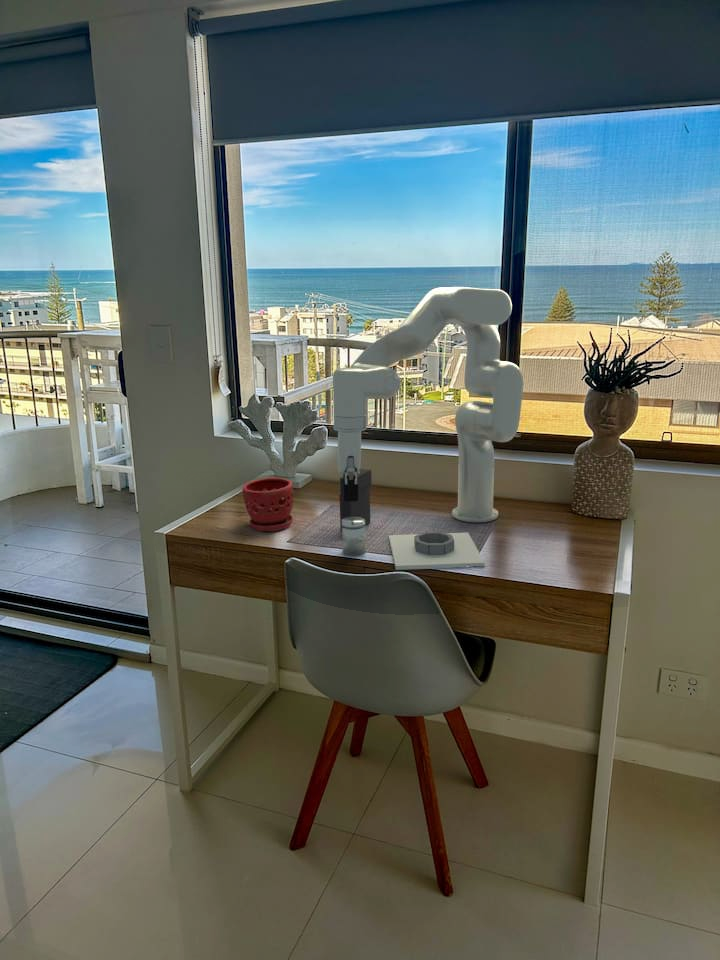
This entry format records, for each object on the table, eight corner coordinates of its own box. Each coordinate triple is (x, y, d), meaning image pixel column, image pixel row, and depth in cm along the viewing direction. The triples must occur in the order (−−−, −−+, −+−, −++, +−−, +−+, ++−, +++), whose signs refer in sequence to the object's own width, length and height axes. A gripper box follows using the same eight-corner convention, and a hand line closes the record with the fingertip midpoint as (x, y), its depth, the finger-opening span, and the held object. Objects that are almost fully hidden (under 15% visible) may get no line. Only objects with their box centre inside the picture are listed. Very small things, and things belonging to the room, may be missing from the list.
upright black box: (358, 521, 186) (357, 467, 182) (372, 523, 184) (371, 469, 180) (338, 533, 177) (336, 477, 173) (353, 536, 175) (351, 479, 171)
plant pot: (264, 516, 192) (262, 475, 189) (304, 522, 186) (302, 480, 183) (235, 530, 181) (232, 487, 178) (276, 537, 175) (273, 492, 172)
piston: (342, 548, 167) (341, 517, 164) (365, 547, 167) (364, 516, 165) (342, 556, 161) (341, 524, 159) (366, 555, 161) (365, 523, 159)
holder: (388, 539, 172) (388, 525, 171) (467, 536, 172) (468, 523, 172) (395, 569, 153) (395, 555, 152) (484, 566, 153) (485, 552, 152)
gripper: (333, 417, 164) (334, 485, 168) (333, 429, 147) (334, 506, 151) (364, 416, 164) (365, 485, 168) (368, 429, 147) (368, 505, 152)
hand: (350, 495), depth 160 cm, fingers open, 9 cm apart
